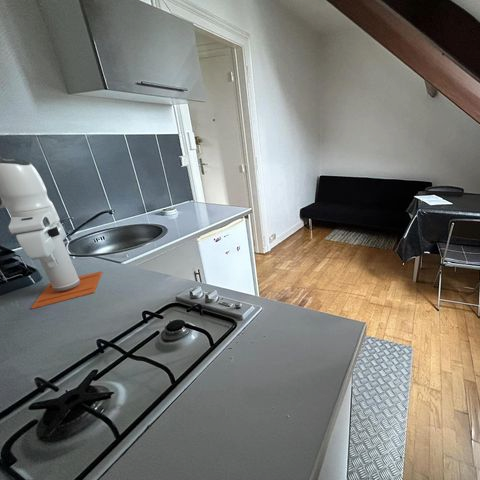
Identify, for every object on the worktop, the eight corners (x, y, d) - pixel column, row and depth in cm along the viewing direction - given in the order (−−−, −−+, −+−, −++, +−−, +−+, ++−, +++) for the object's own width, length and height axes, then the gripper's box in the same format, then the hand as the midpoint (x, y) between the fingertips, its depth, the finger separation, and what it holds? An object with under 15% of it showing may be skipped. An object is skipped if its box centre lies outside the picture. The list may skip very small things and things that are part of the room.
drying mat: (31, 309, 73) (30, 307, 73) (49, 284, 86) (48, 283, 85) (94, 292, 79) (93, 291, 79) (102, 272, 92) (101, 270, 92)
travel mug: (48, 293, 78) (17, 230, 71) (62, 283, 84) (35, 224, 77) (72, 290, 79) (45, 228, 72) (84, 279, 85) (60, 221, 78)
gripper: (34, 212, 81) (54, 252, 86) (4, 229, 64) (31, 278, 69) (61, 208, 84) (78, 248, 89) (39, 224, 67) (62, 271, 72)
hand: (57, 261), depth 79 cm, fingers closed on travel mug, 6 cm apart
